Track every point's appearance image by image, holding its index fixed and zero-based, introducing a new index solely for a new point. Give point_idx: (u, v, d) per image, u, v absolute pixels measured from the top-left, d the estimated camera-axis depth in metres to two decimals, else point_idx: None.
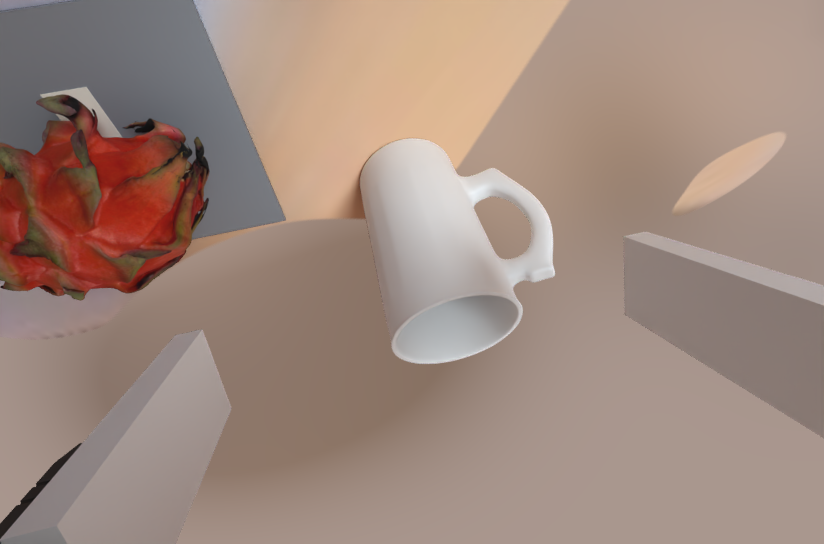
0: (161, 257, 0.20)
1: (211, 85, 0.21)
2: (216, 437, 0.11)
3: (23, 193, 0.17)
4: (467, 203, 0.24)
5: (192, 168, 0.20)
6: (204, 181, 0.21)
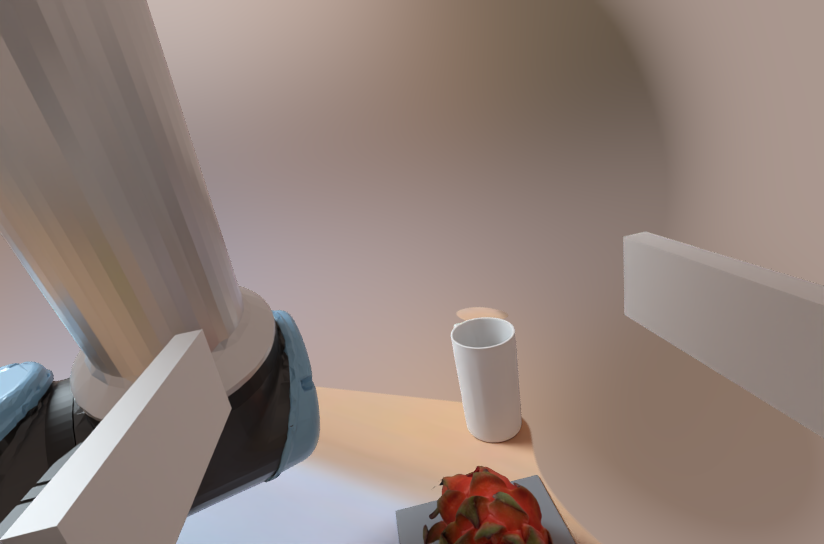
0: None
1: None
2: (216, 437, 0.11)
3: (453, 531, 0.31)
4: None
5: None
6: None
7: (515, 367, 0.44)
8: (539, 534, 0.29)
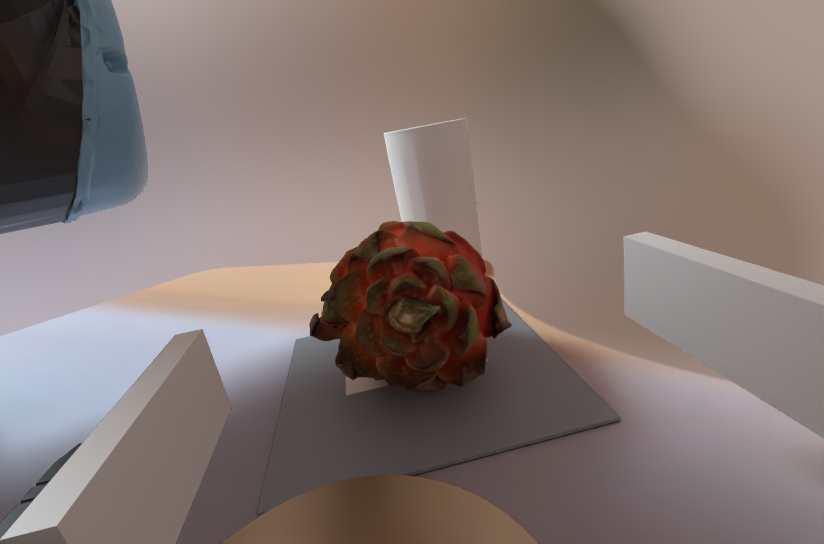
0: None
1: None
2: (216, 437, 0.11)
3: None
4: None
5: None
6: None
7: (468, 168, 0.33)
8: (475, 267, 0.18)
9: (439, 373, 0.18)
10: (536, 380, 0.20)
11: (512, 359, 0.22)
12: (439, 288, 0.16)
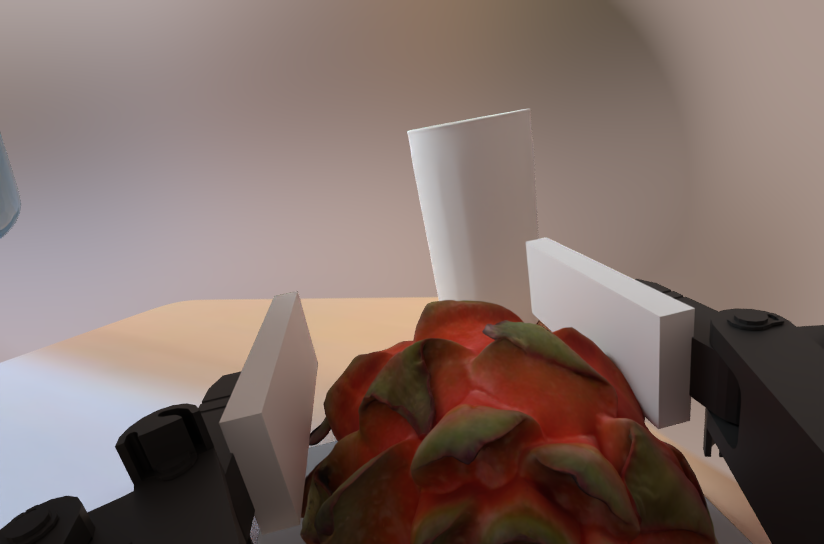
0: None
1: None
2: (314, 383, 0.13)
3: (352, 463, 0.09)
4: None
5: None
6: None
7: (532, 183, 0.23)
8: (669, 452, 0.07)
9: None
10: None
11: None
12: None
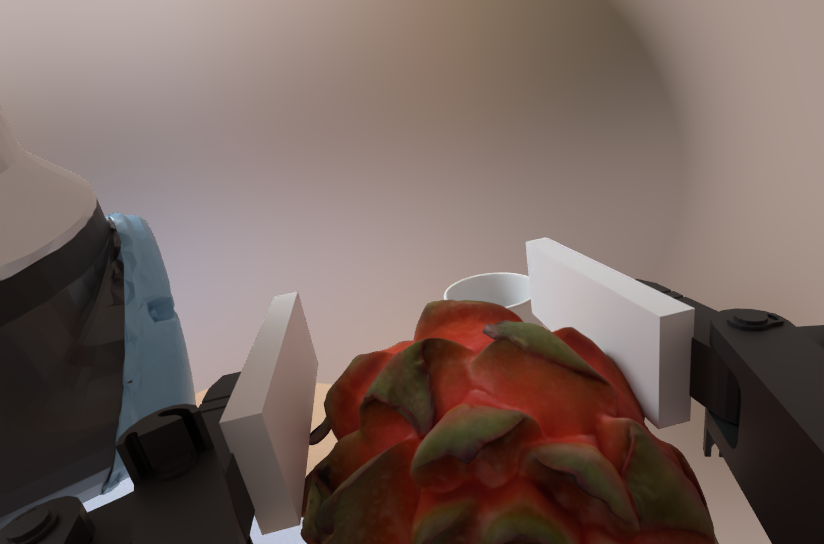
0: None
1: None
2: (314, 383, 0.13)
3: (352, 463, 0.09)
4: None
5: None
6: None
7: None
8: (669, 451, 0.07)
9: None
10: None
11: None
12: None
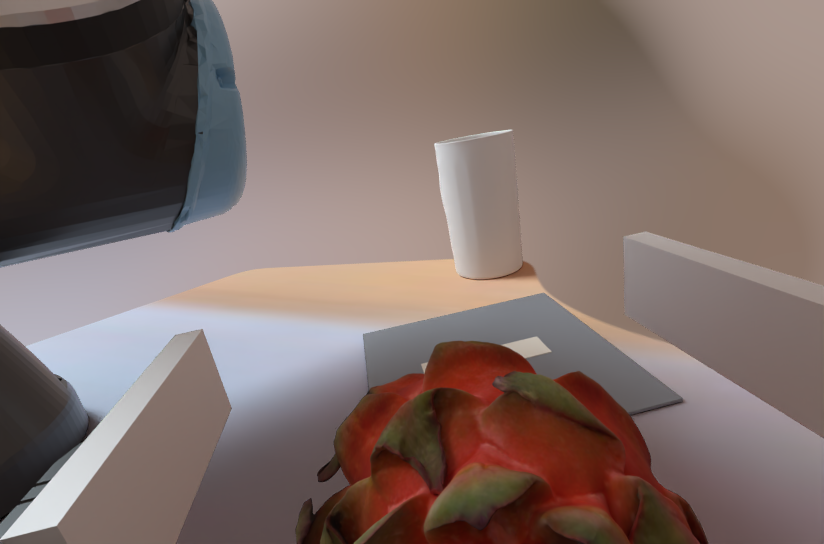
0: None
1: (420, 325, 0.31)
2: (216, 437, 0.11)
3: (364, 510, 0.09)
4: None
5: None
6: None
7: (514, 177, 0.36)
8: (676, 510, 0.08)
9: None
10: (600, 368, 0.22)
11: (573, 350, 0.24)
12: None
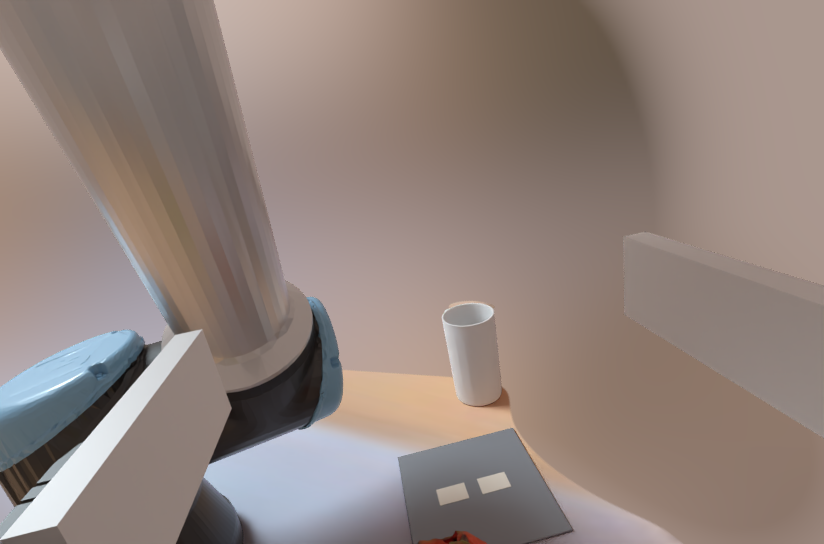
0: (473, 543, 0.31)
1: (434, 452, 0.49)
2: (216, 437, 0.11)
3: None
4: None
5: None
6: None
7: (495, 342, 0.54)
8: None
9: None
10: (535, 503, 0.41)
11: (523, 486, 0.43)
12: None
